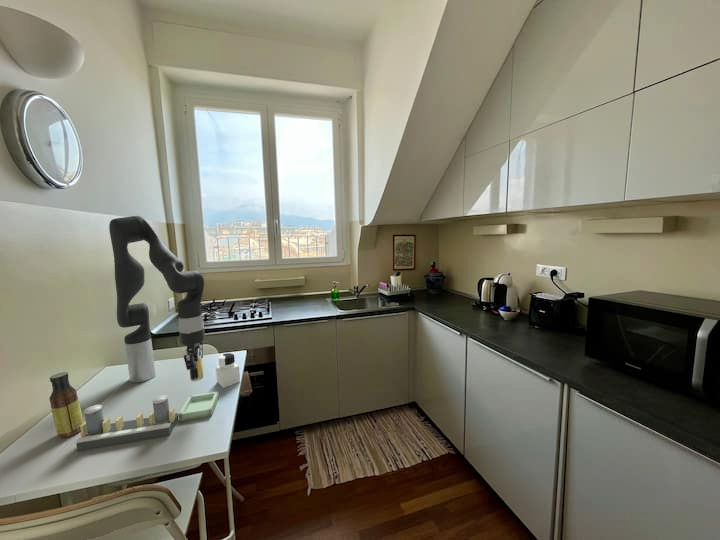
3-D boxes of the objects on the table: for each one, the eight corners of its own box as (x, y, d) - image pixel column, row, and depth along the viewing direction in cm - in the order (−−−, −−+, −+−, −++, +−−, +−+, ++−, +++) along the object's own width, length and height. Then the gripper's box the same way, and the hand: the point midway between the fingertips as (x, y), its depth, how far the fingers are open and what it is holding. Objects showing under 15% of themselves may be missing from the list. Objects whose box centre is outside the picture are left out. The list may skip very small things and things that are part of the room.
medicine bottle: (233, 376, 130) (231, 350, 129) (240, 381, 125) (238, 354, 124) (216, 382, 125) (214, 355, 124) (223, 388, 120) (220, 360, 119)
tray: (189, 402, 111) (189, 395, 110) (218, 397, 113) (218, 391, 113) (179, 421, 99) (178, 414, 99) (211, 416, 102) (210, 409, 101)
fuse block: (93, 433, 94) (90, 416, 93) (179, 419, 100) (177, 403, 99) (76, 451, 86) (73, 432, 86) (170, 435, 92) (168, 417, 92)
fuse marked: (192, 376, 106) (190, 355, 105) (204, 375, 107) (202, 354, 106) (189, 382, 102) (186, 360, 101) (201, 380, 103) (199, 358, 102)
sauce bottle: (82, 423, 100) (73, 367, 97) (86, 431, 96) (76, 372, 93) (54, 434, 95) (44, 375, 92) (57, 442, 91) (46, 381, 88)
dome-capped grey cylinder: (93, 429, 92) (89, 405, 91) (108, 427, 93) (104, 403, 92) (84, 438, 88) (80, 413, 87) (100, 435, 89) (96, 411, 88)
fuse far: (158, 419, 97) (155, 396, 96) (172, 417, 98) (169, 394, 97) (153, 426, 93) (150, 403, 92) (167, 424, 94) (164, 400, 93)
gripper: (186, 323, 108) (190, 368, 111) (172, 336, 95) (177, 387, 97) (208, 321, 110) (212, 365, 112) (197, 333, 97) (202, 383, 99)
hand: (196, 375), depth 105 cm, fingers closed on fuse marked, 4 cm apart
